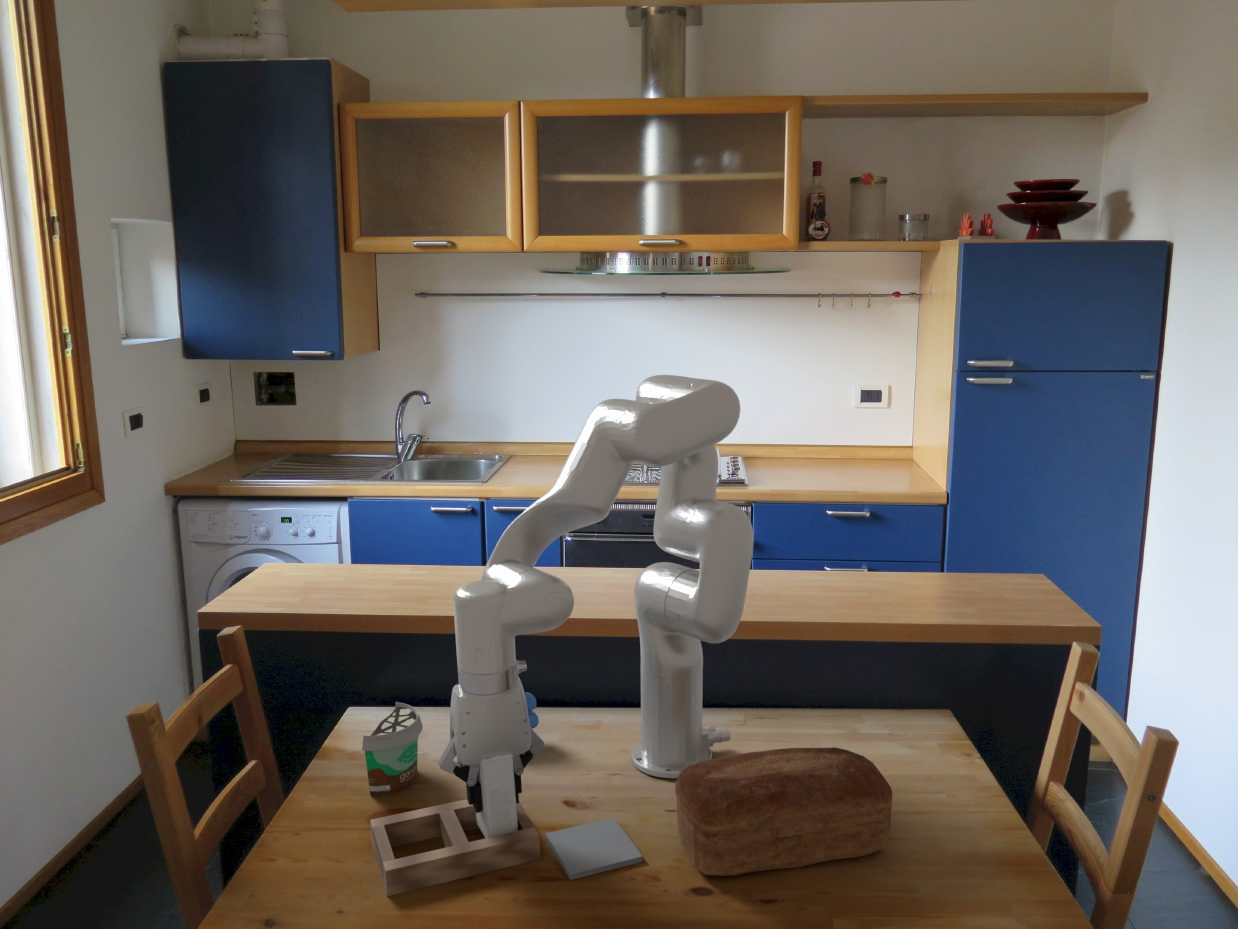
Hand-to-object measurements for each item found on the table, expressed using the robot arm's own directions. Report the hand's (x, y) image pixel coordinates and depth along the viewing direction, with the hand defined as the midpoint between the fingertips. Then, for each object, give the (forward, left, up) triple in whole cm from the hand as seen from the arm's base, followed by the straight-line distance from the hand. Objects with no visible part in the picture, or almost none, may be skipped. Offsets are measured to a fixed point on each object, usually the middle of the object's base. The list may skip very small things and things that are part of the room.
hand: (494, 801), depth 134 cm
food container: (+9, -21, -6) cm, 23 cm away
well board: (+6, 0, -6) cm, 8 cm away
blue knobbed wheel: (-8, -26, -6) cm, 28 cm away
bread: (-35, +16, -6) cm, 39 cm away
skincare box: (0, 0, -5) cm, 5 cm away
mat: (-11, +7, -6) cm, 15 cm away
